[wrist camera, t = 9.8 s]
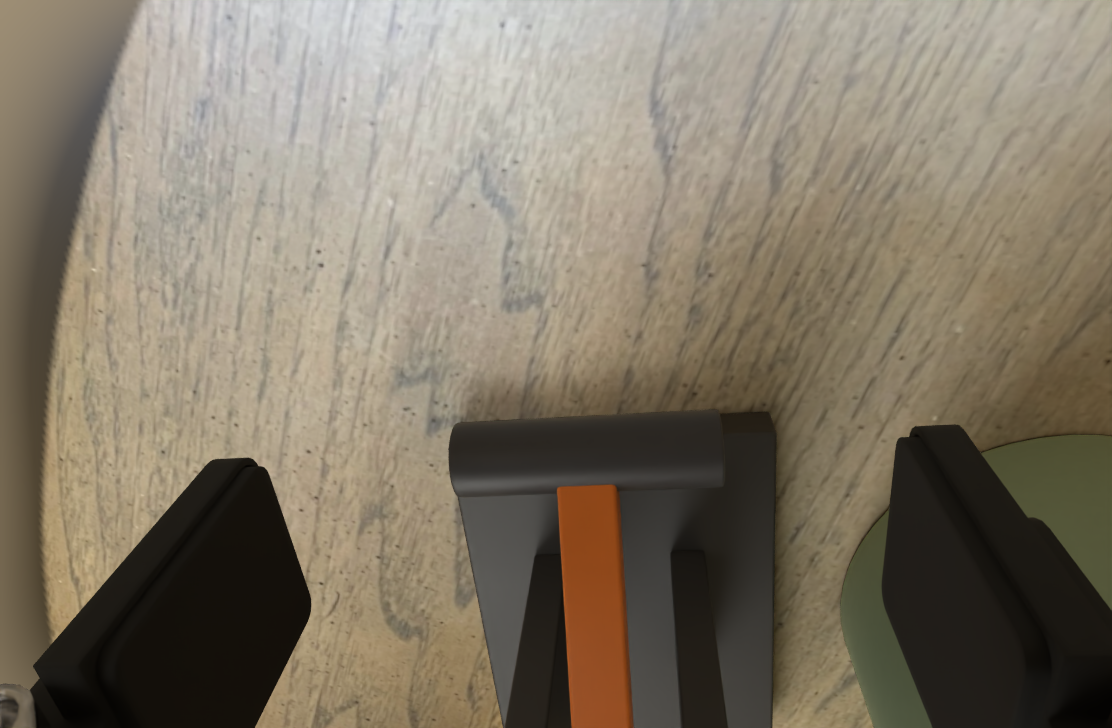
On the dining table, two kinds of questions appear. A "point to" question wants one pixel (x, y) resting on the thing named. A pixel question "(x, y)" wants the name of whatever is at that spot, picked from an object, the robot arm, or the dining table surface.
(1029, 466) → the green canister
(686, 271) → the dining table surface
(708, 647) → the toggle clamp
